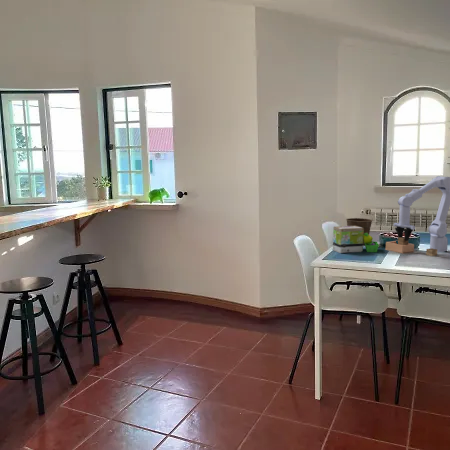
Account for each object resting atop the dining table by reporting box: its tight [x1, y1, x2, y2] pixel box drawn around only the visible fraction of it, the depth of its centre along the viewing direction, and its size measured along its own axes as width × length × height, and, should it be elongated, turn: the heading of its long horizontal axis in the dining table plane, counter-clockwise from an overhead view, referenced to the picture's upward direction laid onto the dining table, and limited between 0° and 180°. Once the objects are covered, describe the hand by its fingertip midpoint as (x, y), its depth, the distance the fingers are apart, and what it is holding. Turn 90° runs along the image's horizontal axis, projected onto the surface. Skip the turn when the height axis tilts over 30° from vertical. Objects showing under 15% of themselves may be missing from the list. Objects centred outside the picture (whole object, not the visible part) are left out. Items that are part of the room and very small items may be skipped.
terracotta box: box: [385, 240, 415, 255], centre depth 273 cm, size 9×13×5 cm
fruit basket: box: [363, 233, 380, 253], centre depth 275 cm, size 11×9×11 cm
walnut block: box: [397, 236, 409, 245], centre depth 270 cm, size 4×4×4 cm
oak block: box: [425, 247, 438, 257], centre depth 261 cm, size 4×4×4 cm
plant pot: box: [345, 217, 373, 247], centre depth 297 cm, size 16×16×16 cm
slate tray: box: [383, 248, 421, 256], centre depth 273 cm, size 12×17×1 cm
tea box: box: [332, 225, 364, 254], centre depth 277 cm, size 15×10×15 cm, turn 105°
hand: (403, 240), depth 270 cm, fingers open, 4 cm apart
